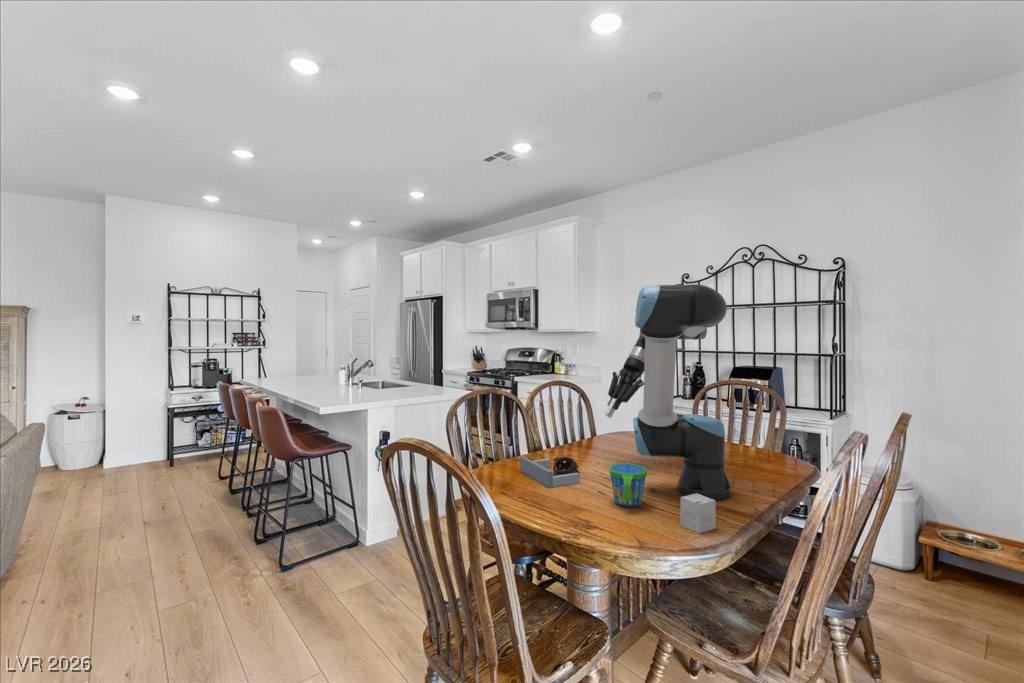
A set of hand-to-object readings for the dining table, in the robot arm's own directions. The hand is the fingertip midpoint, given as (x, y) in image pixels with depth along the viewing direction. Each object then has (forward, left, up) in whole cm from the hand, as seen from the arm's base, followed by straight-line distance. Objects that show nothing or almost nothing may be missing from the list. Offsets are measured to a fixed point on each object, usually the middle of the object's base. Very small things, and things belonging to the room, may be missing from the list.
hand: (607, 415), depth 171 cm
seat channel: (-7, +23, -19) cm, 30 cm away
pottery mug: (-8, +17, -20) cm, 27 cm away
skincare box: (-52, -8, -20) cm, 56 cm away
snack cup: (-34, +4, -19) cm, 40 cm away
